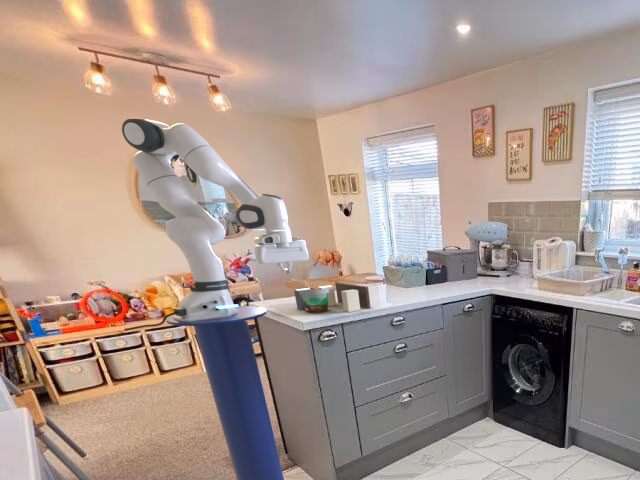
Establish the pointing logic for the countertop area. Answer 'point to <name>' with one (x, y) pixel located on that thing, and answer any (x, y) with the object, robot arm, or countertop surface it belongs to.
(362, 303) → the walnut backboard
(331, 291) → the cream block back
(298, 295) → the grey block
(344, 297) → the cream block front
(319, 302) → the food container
